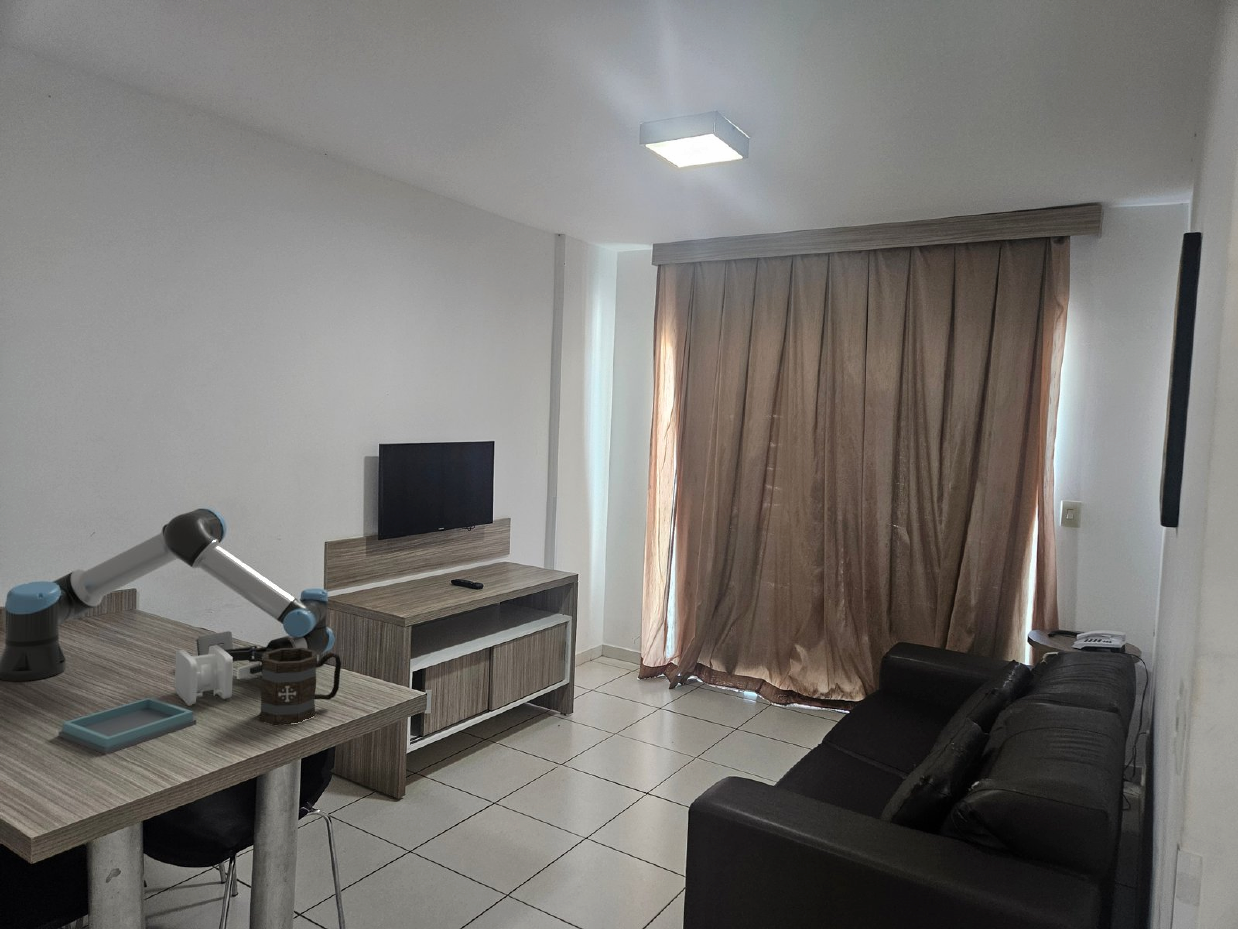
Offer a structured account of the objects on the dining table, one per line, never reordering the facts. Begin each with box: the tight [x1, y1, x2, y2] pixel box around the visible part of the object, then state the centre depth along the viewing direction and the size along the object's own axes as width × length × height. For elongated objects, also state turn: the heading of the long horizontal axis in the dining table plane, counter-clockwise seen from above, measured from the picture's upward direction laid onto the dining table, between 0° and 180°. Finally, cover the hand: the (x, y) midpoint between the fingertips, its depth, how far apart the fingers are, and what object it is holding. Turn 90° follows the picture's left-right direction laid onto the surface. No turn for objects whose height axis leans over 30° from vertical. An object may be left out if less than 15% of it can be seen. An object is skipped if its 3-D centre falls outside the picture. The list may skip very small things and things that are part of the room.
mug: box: [258, 648, 342, 726], centre depth 201 cm, size 20×14×15 cm
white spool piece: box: [174, 645, 234, 707], centre depth 208 cm, size 15×11×12 cm
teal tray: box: [58, 697, 197, 755], centre depth 185 cm, size 17×21×3 cm
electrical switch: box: [196, 630, 235, 663], centre depth 233 cm, size 9×5×9 cm, turn 141°
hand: (219, 668), depth 211 cm, fingers open, 13 cm apart
